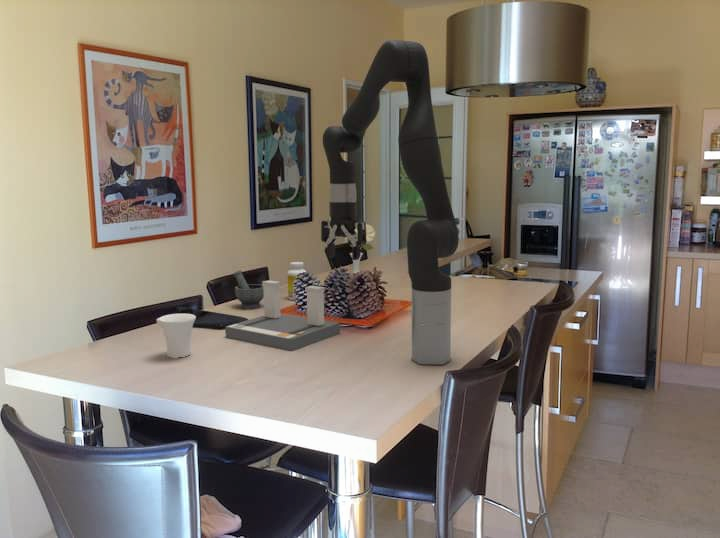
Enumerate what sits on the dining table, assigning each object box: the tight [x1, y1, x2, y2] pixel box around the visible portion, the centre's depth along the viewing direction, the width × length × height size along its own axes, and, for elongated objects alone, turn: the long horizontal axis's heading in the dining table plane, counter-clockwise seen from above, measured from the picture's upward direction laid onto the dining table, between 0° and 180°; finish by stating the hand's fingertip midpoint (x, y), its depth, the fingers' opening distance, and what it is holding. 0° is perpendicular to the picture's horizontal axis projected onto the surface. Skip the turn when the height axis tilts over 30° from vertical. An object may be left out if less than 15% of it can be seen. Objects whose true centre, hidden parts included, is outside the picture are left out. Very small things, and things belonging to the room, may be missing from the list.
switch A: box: [305, 285, 326, 326], centre depth 170 cm, size 3×5×10 cm, turn 55°
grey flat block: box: [224, 312, 341, 352], centre depth 172 cm, size 20×24×3 cm
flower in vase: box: [349, 223, 376, 274], centre depth 233 cm, size 13×11×25 cm
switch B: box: [261, 280, 282, 318], centre depth 179 cm, size 3×5×10 cm, turn 55°
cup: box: [156, 313, 196, 358], centre depth 154 cm, size 9×9×10 cm
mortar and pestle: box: [233, 270, 264, 310], centre depth 208 cm, size 11×9×12 cm
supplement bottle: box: [287, 261, 307, 301], centre depth 219 cm, size 7×7×13 cm
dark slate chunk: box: [174, 306, 249, 329], centre depth 188 cm, size 15×22×5 cm
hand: (343, 258), depth 176 cm, fingers open, 8 cm apart
